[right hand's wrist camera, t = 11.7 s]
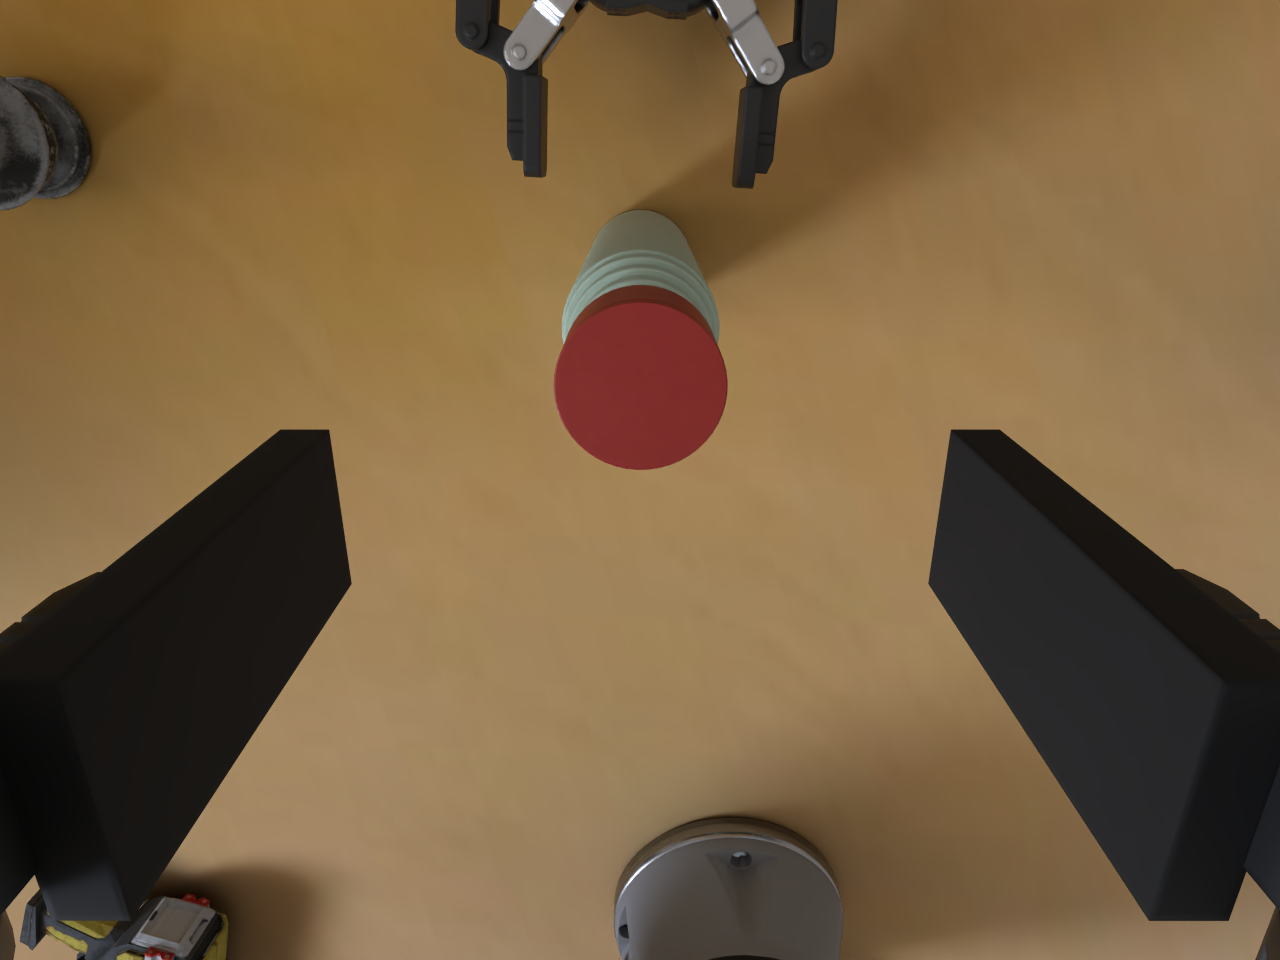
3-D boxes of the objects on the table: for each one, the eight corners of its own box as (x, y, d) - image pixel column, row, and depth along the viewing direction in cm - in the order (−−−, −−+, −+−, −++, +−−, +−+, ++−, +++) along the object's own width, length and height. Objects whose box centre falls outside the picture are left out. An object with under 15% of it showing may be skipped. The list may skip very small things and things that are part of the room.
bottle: (591, 207, 40) (538, 277, 19) (693, 211, 40) (751, 285, 19) (589, 310, 42) (539, 475, 21) (687, 314, 42) (733, 482, 21)
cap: (563, 280, 22) (553, 297, 19) (724, 287, 22) (734, 305, 19) (562, 433, 23) (553, 467, 21) (712, 439, 23) (720, 473, 21)
